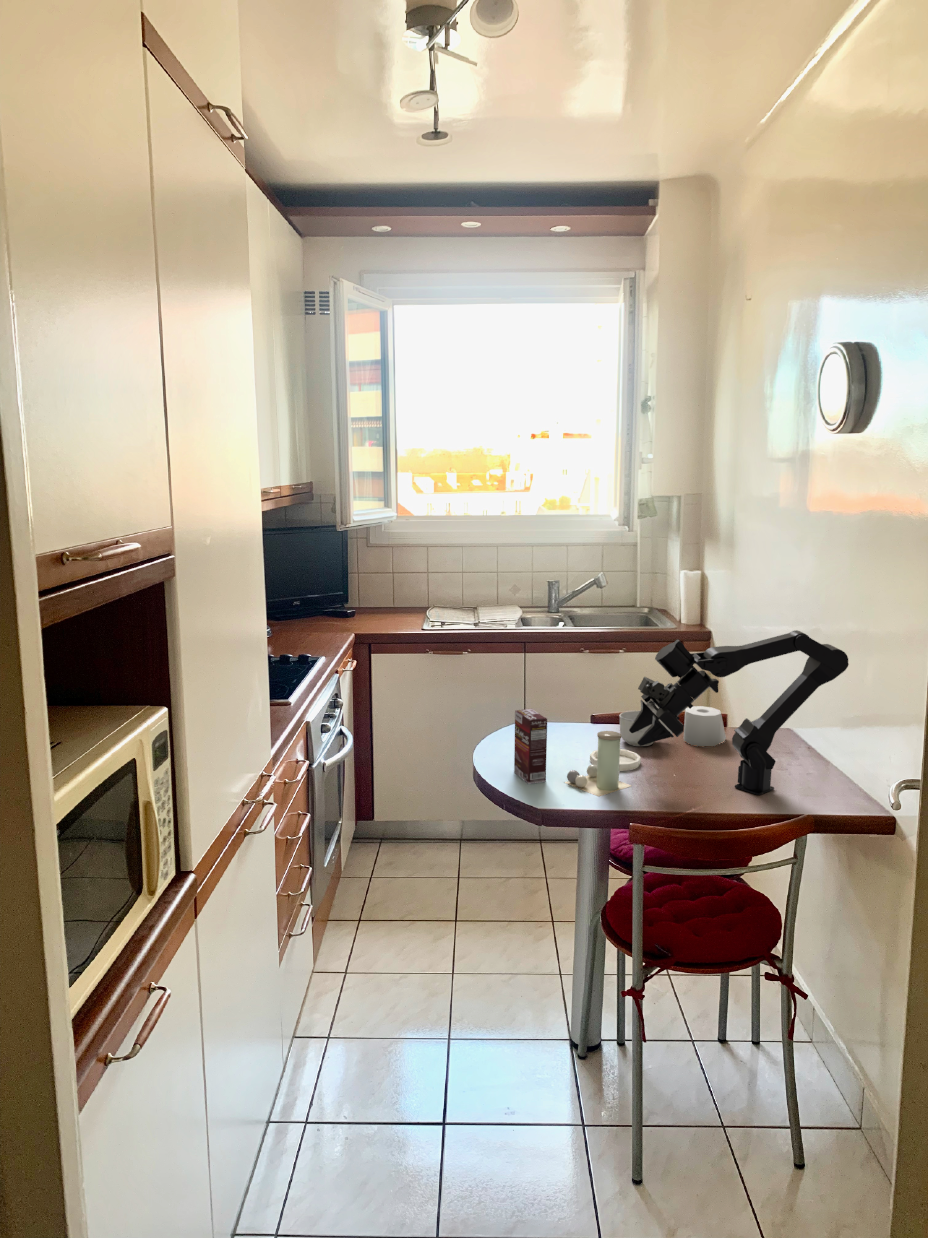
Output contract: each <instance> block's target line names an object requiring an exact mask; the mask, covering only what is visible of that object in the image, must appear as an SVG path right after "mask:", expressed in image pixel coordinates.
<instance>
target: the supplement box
mask: <svg viewBox="0 0 928 1238" xmlns="http://www.w3.org/2000/svg"><path fill="white" fill-rule="evenodd" d="M547 741H548V718H547V717H545V716H544V715H542V714H540V712H539V713H538V712H537V711H536V710H534V709H533V708H524V709H518V710H517V709H516V710H515V711H514V757H513V758H514V761H513V762H514V766H513V769H514V770H513V773H514V774H516V776H518V777H519V778H520V779H522V780H523V781H524V782H525V783H526V784H528V785H530V784H531V785H532V784H538V783H546V782H547V748H548V747H547V746H548V745H547V743H548V742H547Z"/></svg>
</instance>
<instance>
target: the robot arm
mask: <svg viewBox="0 0 928 1238" xmlns="http://www.w3.org/2000/svg"><path fill="white" fill-rule="evenodd" d="M795 652H801V653H803V654H805V655H806V656H808V658H807V659H806V662H805V665H804V667H803V670H802V672H801V673H800V674H799V676H797V677H796V679H794V680H793V682H791V684H790V685H789V686H788V687H787V688H786V689H785V690H784V691H783V692H782V693H781V694H780V696H778V697H777V699H776V700H775V701H774V702H773V703H772V704H771V705H770V706H769V707H768V708H767V710H765V711H764V712H763V713H762V715H761V716H760V717H758V718H756V719H754V720H750V719H749V718H744V720H743V721H742V723H741V724H740V725H739V726H738V727H737V728H734V730H733V731H734V734H733V735H732V738H731V740H732V741H731V742H732V747H733V749H735V750H736V752H737V753H739V757H740V758H741V759H742V760H740V762H739V765H738V771H737V784H735V785H734V788H736V789H739V790H741V791H744V792H747V793H751V794H753V795H756V796H761V795H764V794H766V793H768V792H771V791H774V790H775V787H774V786H772V783H771V781H772V771H773V768H774V766H775V764H776V759H774V757H772V756H771V754H769V752H768V750H769V749H770V747H771V745H772V744H773V740H774V738H775V735H776V733H777V731H779V729H780V728H781V727H782V726H784V724H785V723H786V722H787V721H788V720H789V719H790V718H791V716H792V715H794V714H795V712H796V711H798V709H799V708H800V707H801V706H802V705H803V704H804V703H805V702H806V701H807V700H808V699H809V698H810V697H811V696H812V695H813V694H814V692H816V691H817V689H818V688H819V687H821V686H822V685H824V684H827V683H830V682H831V681H833V680H835V679H836V678H837V677H838V676H840V675H842V674H843V673H844V672H846V670H847V668H848V667H849V665H850V664H849V656H848V655H847V652H845V651H844V650H842V649H840V648H838V647H835V646H834V645H832V644H829V643H820V642H818V641H816V640H815V639H813V638H811V637H810V636H809V635H808V634H806V633H804V632H802V631H800V630H792V631H790V632H788V633H785V634H779V635H777V636H773V637H769V638H766V639H761V640H758V641H753V642H751V643H747V644H741V645H721V646H720V645H719V646H711V647H709V648H707V649H706V650H705V651H701V652H694V653H691V652H690V651H689V650H688V649H687V648H686V647H685V645H684V644H683V642H681V641H680V640H679V639H676V640H675V641H674V642H671V643H669V644H667V645H666V646H663V647H662V648H660V649H659V651H658V652H657V653H656V655H655V659H654V660H655V661H656V663H658V664H659V665H660V666H661V667H662V668H663V670H665V671H666V673H668V674H669V676H671V678H676V677H678V678H679V679H678V680H677V681H676V682H675V683H674V684H673V683H671V682H669V683H667V684H666V685H665V684H663V683H662V682H660V681H658V680H656V681H655V680H654V679H651V678H649V677H647V676H644V677H643V678H642V680H641V682H640V684H639V685H638V688H637V690H639V691H640V693H641V696H640V697H641V699H640V710H639V711H640V712H639V714H638V716H637V718H636V719H635V721H634V722H633V724H632V726H631V727H630V729H629V731H630V732H631V733H634V732H637V731H639V730H641V729H643V728H645V727H647V726H649V725H651V724H652V725H651V726H650V727H649V728H648V730H647V731H646V732H645V733H644V734H643V736H642V737H641V738H640V739H639V741H638V742H637V743H638V744H639V745H640V746H639V747H643V746H642V745H646V744H649V743H652V742H658V741H661V740H665V739H668V738H675V737H676V738H678V737H679V736H680V735H682V734H684V724H683V723H682V722H681V721H680V719H681V718H680V715H681V714H682V713H683V712H685V709H686V708H688V707H689V708H690V709H691V708H692V707H693V706H694V705H693V703H694V702H695V701H696V700H697V699H698V698H700V696H701V695H703V693H705V692H706V691H707V690H708V689H711V690H712V691H713V692H714V693H716V694H718V693H719V682H720V681H719V680H718V679H717V678H725V677H728V676H730V675H733V674H734V673H737V672H738V671H740V670H741V669H743V668H744V667H747V666H748V665H750V664H753V663H758V662H762V661H764V660H769V659H773V658H776V657H781V656H785V655H788V654H792V653H795ZM694 665H696V666H697V667H699V669H701V670H698V669H697V668H696V667H695V666H694ZM707 672H709V673H710V674H712V675H713V676H715V678H712V677H711V676H710V675H709V674H708V673H707Z"/></svg>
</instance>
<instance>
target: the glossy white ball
mask: <svg viewBox="0 0 928 1238" xmlns="http://www.w3.org/2000/svg"><path fill="white" fill-rule="evenodd" d="M586 773H587V775H589V776H590V777H597V766H596V765H593V764H590V765H588V767H586Z"/></svg>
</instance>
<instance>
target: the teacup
mask: <svg viewBox="0 0 928 1238" xmlns="http://www.w3.org/2000/svg"><path fill="white" fill-rule="evenodd" d="M640 711H641V710H627V711H623V712H621V713H620V714H619V715H618V717H619V733H620V734H621V739H622V740H623V741H624V742H626V743H627V744H628V745H630V746H633V747H647V746H651V745H652V744H654V742H652V743H649V744H646V745H642V746H640V745H639V744H638V743H637V742H638V741H639V739H640V738H641V737H642V736H643V734H644V733H645V732H646V731H647V730H648V728H649V727H650V726H651V725H652V724H651V725H649V726H647V727H645V728H643V729H641V730H639V731H637V732H634V733H631V732H630V731H629V729H630V727H631V726H632V724H633V722H634V721H635V719H636V718H637V716H638V714H639V712H640Z"/></svg>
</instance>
